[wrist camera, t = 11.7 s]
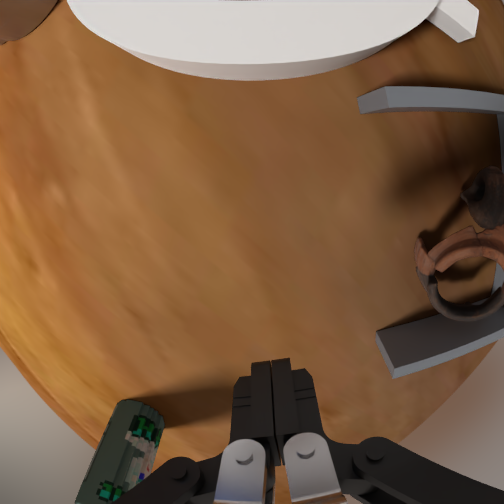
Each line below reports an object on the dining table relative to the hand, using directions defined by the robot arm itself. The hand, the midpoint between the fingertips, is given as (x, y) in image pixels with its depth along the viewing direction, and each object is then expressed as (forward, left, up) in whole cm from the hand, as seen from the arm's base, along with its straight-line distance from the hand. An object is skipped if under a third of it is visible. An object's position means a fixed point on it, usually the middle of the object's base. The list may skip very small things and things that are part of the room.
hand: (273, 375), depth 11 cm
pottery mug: (+16, 0, -12) cm, 20 cm away
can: (-19, -18, -12) cm, 28 cm away
